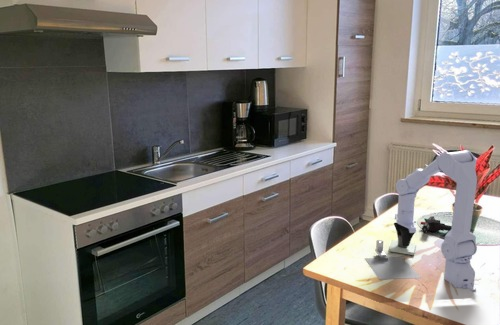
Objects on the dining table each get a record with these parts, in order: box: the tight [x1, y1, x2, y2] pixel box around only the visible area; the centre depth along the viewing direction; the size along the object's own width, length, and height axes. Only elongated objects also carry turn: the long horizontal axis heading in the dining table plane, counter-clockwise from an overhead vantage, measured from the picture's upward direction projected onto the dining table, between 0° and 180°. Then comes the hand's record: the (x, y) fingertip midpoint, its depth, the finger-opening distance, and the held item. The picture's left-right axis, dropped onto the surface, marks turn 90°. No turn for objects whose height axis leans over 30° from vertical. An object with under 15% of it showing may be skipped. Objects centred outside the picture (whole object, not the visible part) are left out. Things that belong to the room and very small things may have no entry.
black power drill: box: [420, 215, 452, 234], centre depth 188 cm, size 5×20×15 cm
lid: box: [388, 235, 417, 256], centre depth 167 cm, size 9×9×5 cm
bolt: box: [374, 239, 387, 258], centre depth 161 cm, size 6×2×4 cm, turn 4°
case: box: [364, 254, 422, 281], centre depth 154 cm, size 16×14×2 cm
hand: (403, 243), depth 167 cm, fingers closed on lid, 4 cm apart
